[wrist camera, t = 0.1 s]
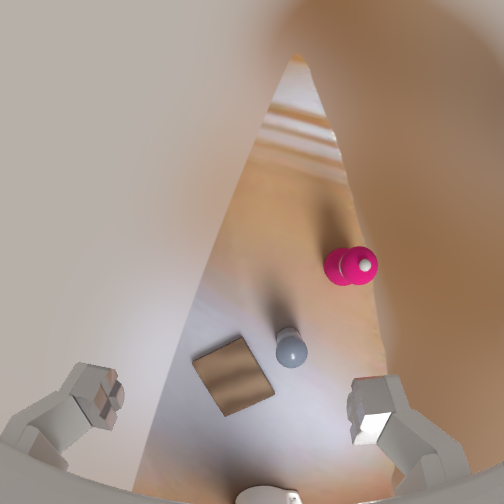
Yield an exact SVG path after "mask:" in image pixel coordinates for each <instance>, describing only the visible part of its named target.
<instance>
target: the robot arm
mask: <svg viewBox="0 0 504 504" xmlns="http://www.w3.org/2000/svg"><path fill="white" fill-rule="evenodd" d="M117 377H118V375H117V373H116V371H115V369H110V368H105V367H100V366H96V365H91V364H85V363H81V362H79V363H77V364H75V366H74V367H73V369H72V371H71V372H70V374H69V375H68V377H67V379H66V380H65V382H64V383H63V385H62V387H61V388H60V390H59V392H57V391H55V392H53V393H51V394H50V395H48V396H46V397H45V398H43V399H41V400H40V401H38V402H36V403H34V404H32V405H31V406H29V407H27V408H26V409H24V410H22V411H20V412H19V413H17V414H15V415H13V416H12V417H11V419H10V420H9V422H8V424H7V425H6V427H5V429H4V430H3V432H2V434H1V436H0V504H191V503H184V502H178V501H172V500H167V499H161V498H156V497H151V496H147V495H142V494H138V493H134V492H130V491H126V490H122V489H118V488H115V487H112V486H108V485H104V484H101V483H98V482H95V481H92V480H89V479H86V478H83V477H80V476H78V475H75V474H72V473H69V472H67V468H68V462H67V461H66V460H65V459H64V458H63V457H62V456H61V455H60V454H61V453H62V452H63V451H65V450H66V449H67V448H68V447H69V446H71V445H72V444H73V443H74V442H76V441H77V440H78V439H79V438H80V437H82V436H83V435H84V434H85V433H86V432H88V431H89V430H90V429H91V428H92V427H97V428H102V429H106V430H111V431H112V429H113V426H114V424H115V421H116V419H117V415H116V411H117V410H119V409H120V408H121V407H122V405H123V402H124V389H123V386H122V384H121V383H120V382H118V381H117V380H116V379H117ZM351 387H352V392H351V393H350V394H349V395H348V399H347V416H348V420H349V421H350V422H351V423H352V426H351V428H350V433H351V439H352V444H353V445H363V444H373V443H377V446H378V447H379V448H380V449H381V450H382V451H383V452H384V453H385V454H386V455H387V456H388V458H389V459H390V460H391V461H392V462H393V463H394V464H395V465H396V466H397V467H398V468H399V469H400V470H401V471H402V473H403V474H404V475H406V477H405V478H404V479H403V481H402V482H401V483H400V484H399V485H398V486H397V487H396V488H395V494H396V497H392V498H387V499H382V500H377V501H371V502H365V503H358V504H504V461H503V462H501V463H499V464H496V465H494V466H492V467H489V468H487V469H485V470H482V471H480V472H477V473H475V474H472V473H471V470H470V467H469V465H468V462H467V459H466V456H465V453H464V451H463V448H462V445H461V444H460V443H458V442H457V441H456V440H454V439H453V438H452V437H450V436H449V435H448V434H446V433H445V432H443V430H441V429H440V428H438V427H437V426H436V425H434V424H433V423H432V422H431V421H429V420H428V419H427V418H425V417H424V416H423V415H421V414H420V413H419V412H417V411H416V410H411V408H410V406H409V403H408V400H407V397H406V394H405V392H404V389H403V387H402V384H401V381H400V378H399V376H398V375H397V374H393V375H384V376H373V377H363V378H354V380H353V381H352V385H351ZM294 497H296V498H294ZM235 504H303V503H302V501H301V498H300V496H299V493H298V492H297V491H294V490H283V489H280V488H277V487H272V486H256V487H251V488H248V489H246V490H244V491H243V492H241V493H240V494H239V495H238V496H237V498H236V503H235Z"/></svg>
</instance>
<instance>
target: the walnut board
mask: <svg viewBox="0 0 504 504" xmlns="http://www.w3.org/2000/svg"><path fill="white" fill-rule="evenodd" d="M192 365H193V366H194V368H195V370H196V371H197V373H198V375H199V376H200V378H201V380H202V381H203V383H204V385H205V386H206V388H207V389H208V391H209V393H210V394H211V396H212V397H213V399H214V401H215V402H216V404H217V405H218V407H219V408H220V410H221V412H222V413H223V415H224V416H225V417H226V416H228V415H231V414H233V413H235V412H238V411H240V410H242V409H245V408H247V407H249V406H251V405H254V404H256V403H258V402H260V401H262V400H265V399H267V398H269V397H271V396H273V395H275V391H274V390H273V388H272V386H271V385H270V383H269V381H268V380H267V378H266V376H265V375H264V373H263V371H262V369H261V368H260V366H259V364H258V363H257V361H256V359H255V357H254V356H253V354H252V352H251V351H250V349H249V347H248V345H247V344H246V342H245V340H244V338H243V337H241V338H239V339H237V340H235V341H233V342H231V343H229V344H227V345H225V346H223V347H221V348H219V349H217V350H215V351H213V352H211V353H209V354H207V355H205V356H203V357H201V358H199V359H197V360H195V361H193V362H192Z"/></svg>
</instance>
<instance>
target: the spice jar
mask: <svg viewBox="0 0 504 504" xmlns="http://www.w3.org/2000/svg"><path fill="white" fill-rule="evenodd" d="M307 354H308V351H307V347H306V345H305V343H304V342H303V340H302V338H301V336H300V334H299V332H298V331H297V330H296V329H294V328H284V329H282V330H281V331H280V332H279V333H278V335H277V348H276V357H277V360H278V362H279V363H280V364H281V365H283V366H284V367H287V368H295V367H298V366H300V365H301V364H303V363H304V361H305V360H306V358H307Z"/></svg>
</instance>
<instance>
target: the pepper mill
mask: <svg viewBox="0 0 504 504" xmlns="http://www.w3.org/2000/svg"><path fill="white" fill-rule="evenodd" d="M377 270H378V262H377V258H376V256H375V255H374V253H373V252H372V251H371V250H369V249H368V248H366V247H361V246H358V247H353V248H351V249H348V248H338V249H336V250H334V251H332V252H331V253H330V254H329V255H328V257H327V258H326V260H325V263H324V271H325V274H326V276H327V277H328V278H329V280H330V281H331V282H333V283H334V284H336V285H340V286H346V285H350V284H355V285H363V284H366V283H368V282H370V281H371V280H372V279H373V278H374V277H375V275H376V273H377Z"/></svg>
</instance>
